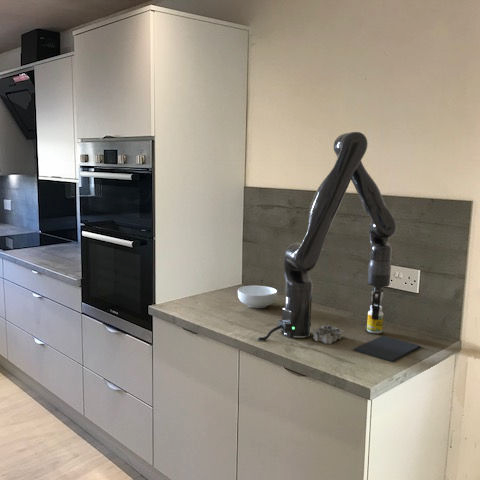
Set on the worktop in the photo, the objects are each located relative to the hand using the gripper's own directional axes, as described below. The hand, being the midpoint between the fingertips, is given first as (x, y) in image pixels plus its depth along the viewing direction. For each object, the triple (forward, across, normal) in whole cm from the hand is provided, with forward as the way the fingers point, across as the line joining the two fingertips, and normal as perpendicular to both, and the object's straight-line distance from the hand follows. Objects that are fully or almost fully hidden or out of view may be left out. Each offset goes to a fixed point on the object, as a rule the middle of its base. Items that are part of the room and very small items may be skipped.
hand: (375, 316), depth 193 cm
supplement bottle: (+6, 0, 0) cm, 6 cm away
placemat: (+6, +16, +5) cm, 18 cm away
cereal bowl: (+6, -14, -48) cm, 50 cm away
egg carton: (+6, +15, -15) cm, 22 cm away
